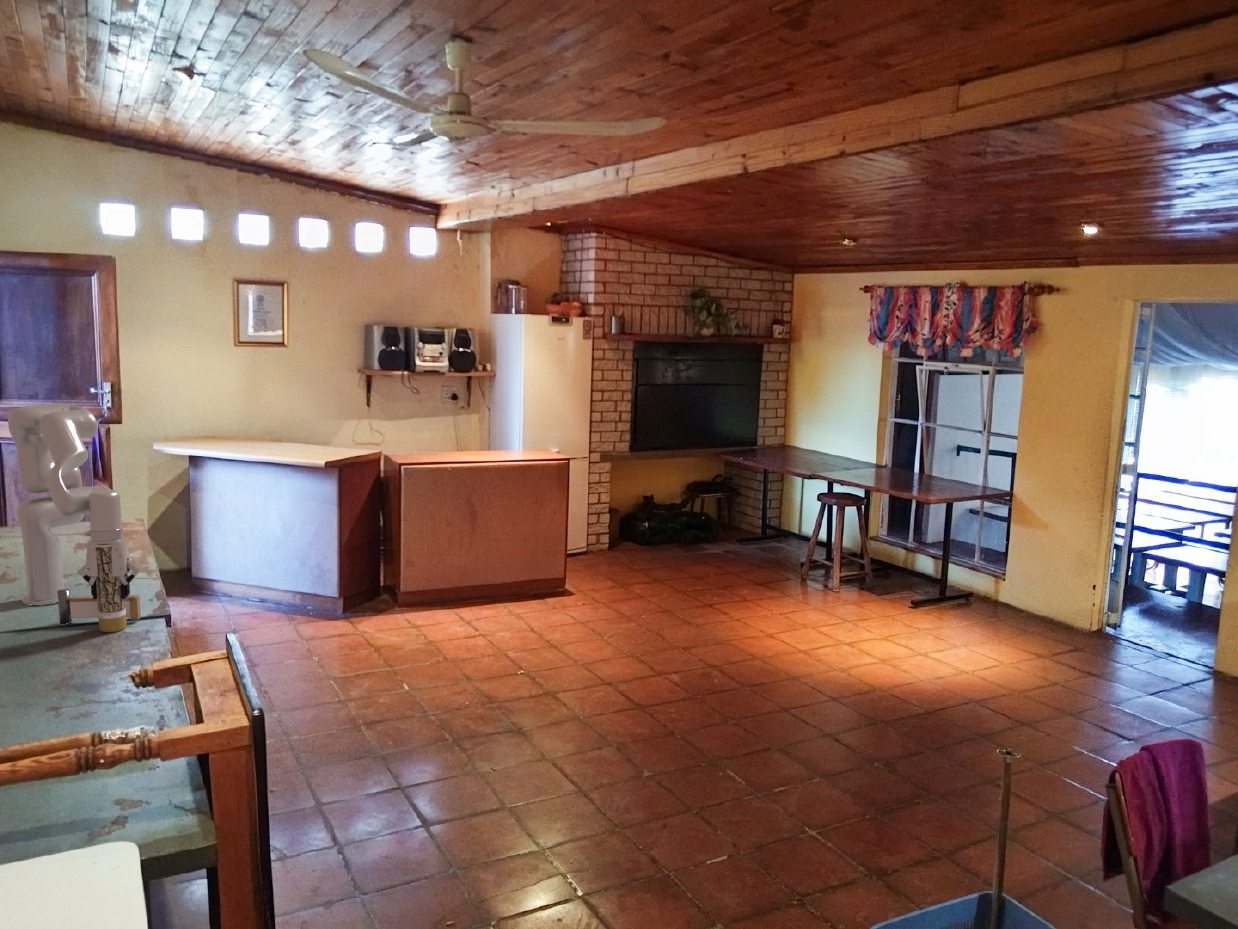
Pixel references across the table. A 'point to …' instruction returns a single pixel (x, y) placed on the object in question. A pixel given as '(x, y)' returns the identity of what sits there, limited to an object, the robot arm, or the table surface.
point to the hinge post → (64, 606)
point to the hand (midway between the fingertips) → (111, 597)
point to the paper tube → (109, 593)
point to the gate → (89, 607)
